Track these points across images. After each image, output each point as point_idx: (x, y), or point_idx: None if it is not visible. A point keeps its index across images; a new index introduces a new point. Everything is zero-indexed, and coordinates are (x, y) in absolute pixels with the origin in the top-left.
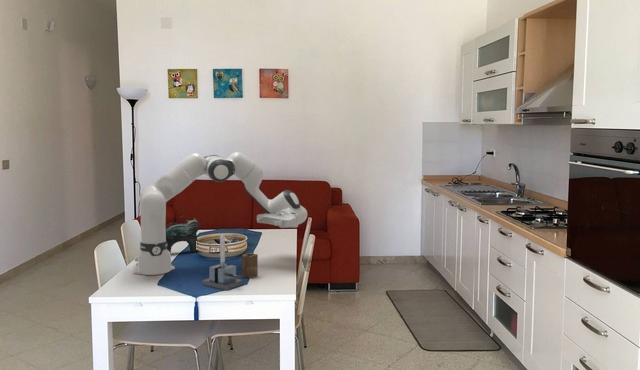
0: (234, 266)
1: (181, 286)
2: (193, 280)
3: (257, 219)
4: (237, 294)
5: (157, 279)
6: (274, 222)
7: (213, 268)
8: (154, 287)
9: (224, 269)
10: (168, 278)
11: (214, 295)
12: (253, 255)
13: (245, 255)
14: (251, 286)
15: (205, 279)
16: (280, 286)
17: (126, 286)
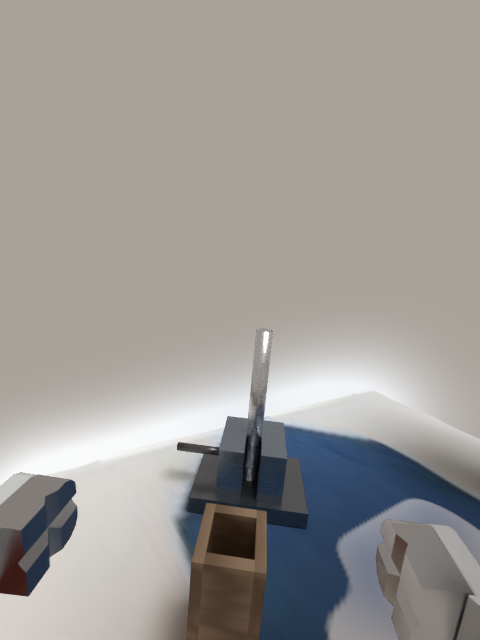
0: (220, 445)
1: (326, 448)
2: (356, 489)
3: (441, 527)
4: (164, 447)
5: (429, 465)
6: (43, 477)
7: (266, 422)
8: (361, 430)
9: (228, 420)
10: (423, 479)
11: (213, 431)
12: (203, 529)
13: (244, 512)
14: (150, 508)
15: (298, 465)
16: None
17: (404, 421)
